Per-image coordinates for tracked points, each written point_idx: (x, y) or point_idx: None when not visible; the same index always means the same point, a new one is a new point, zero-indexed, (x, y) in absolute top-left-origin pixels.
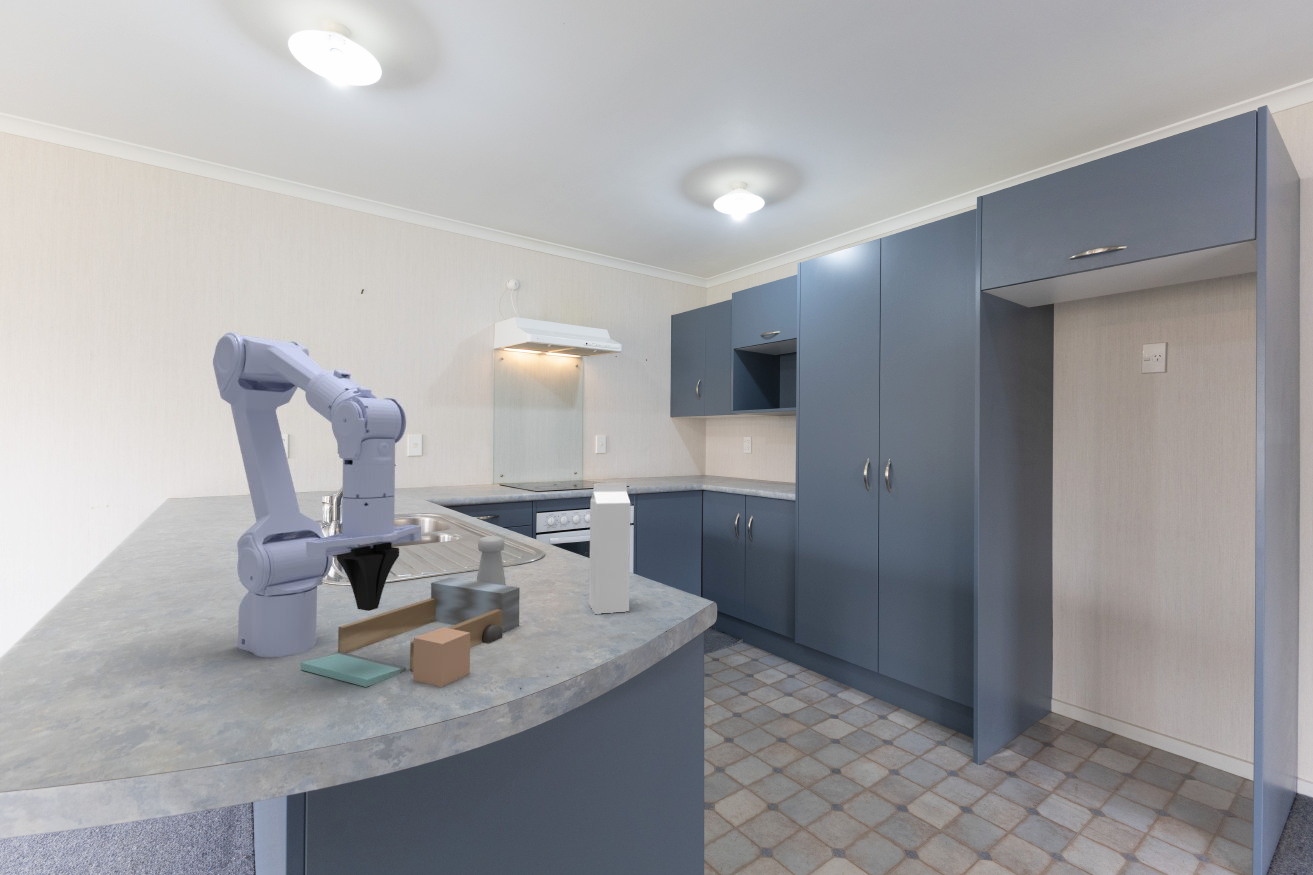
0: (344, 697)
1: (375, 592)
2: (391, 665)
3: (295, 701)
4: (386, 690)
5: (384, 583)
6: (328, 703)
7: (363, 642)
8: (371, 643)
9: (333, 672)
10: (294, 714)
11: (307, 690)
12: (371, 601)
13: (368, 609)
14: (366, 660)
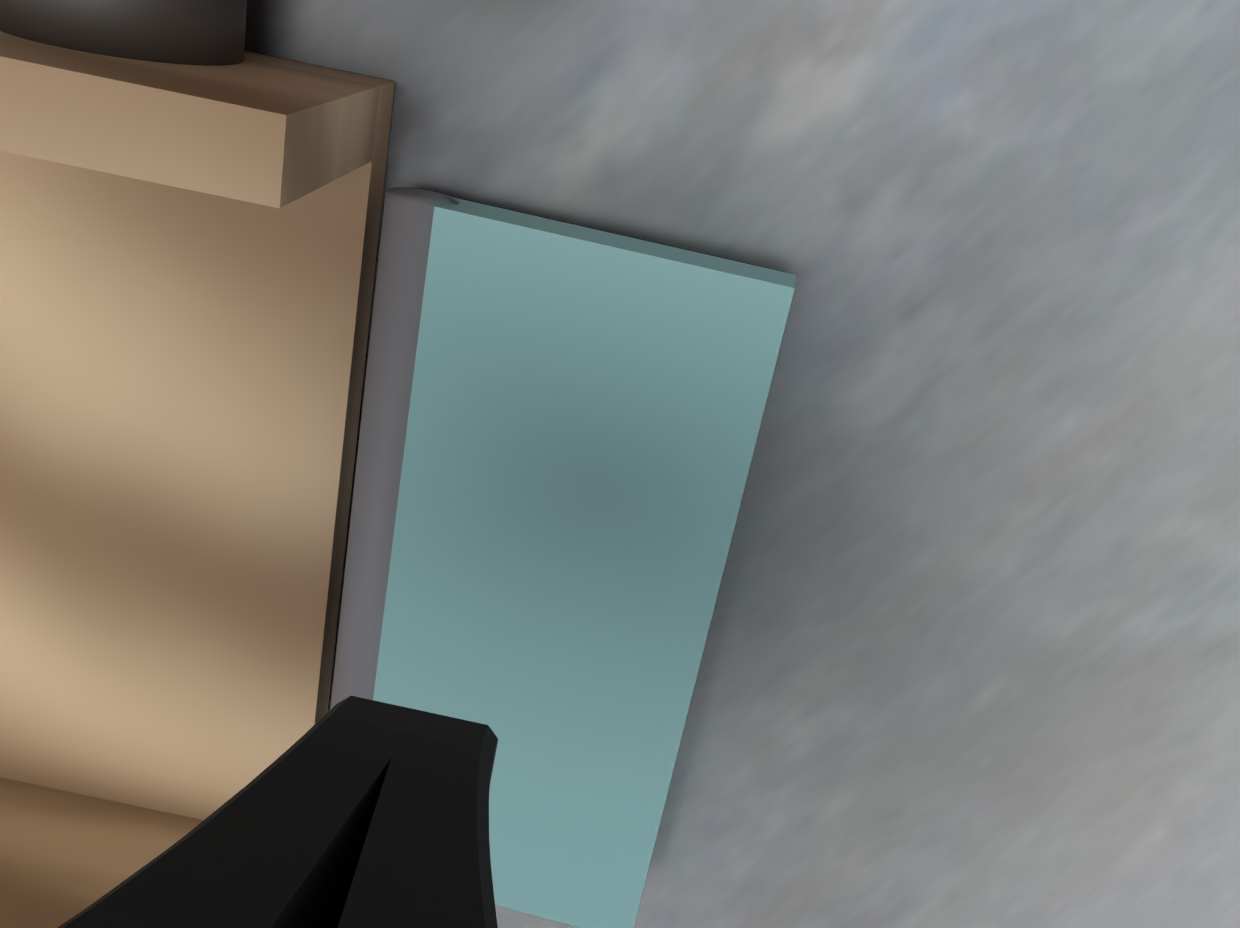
0: (842, 398)
1: (373, 842)
2: (411, 331)
3: (966, 657)
4: (654, 176)
5: (143, 881)
6: (956, 435)
7: (114, 832)
8: (56, 797)
9: (703, 644)
10: (1153, 526)
11: (795, 704)
12: (461, 780)
13: (497, 741)
14: (386, 594)
